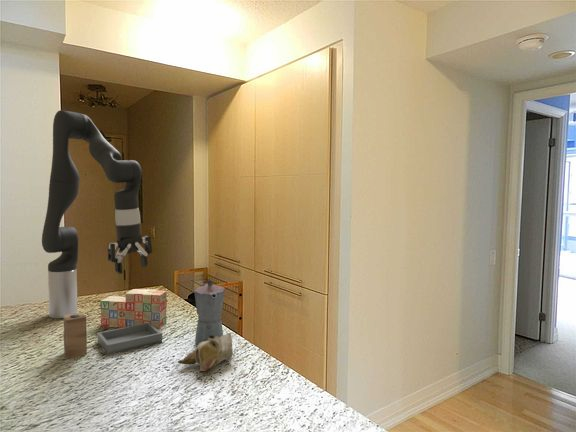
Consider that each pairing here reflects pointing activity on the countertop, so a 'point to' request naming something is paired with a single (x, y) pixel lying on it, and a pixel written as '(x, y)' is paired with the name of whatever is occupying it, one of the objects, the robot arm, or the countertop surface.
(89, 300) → the countertop surface
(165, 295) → the stack of blocks
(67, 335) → the walnut block
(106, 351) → the charcoal tray
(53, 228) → the robot arm
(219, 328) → the moka pot
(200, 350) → the ceramic sculpture
